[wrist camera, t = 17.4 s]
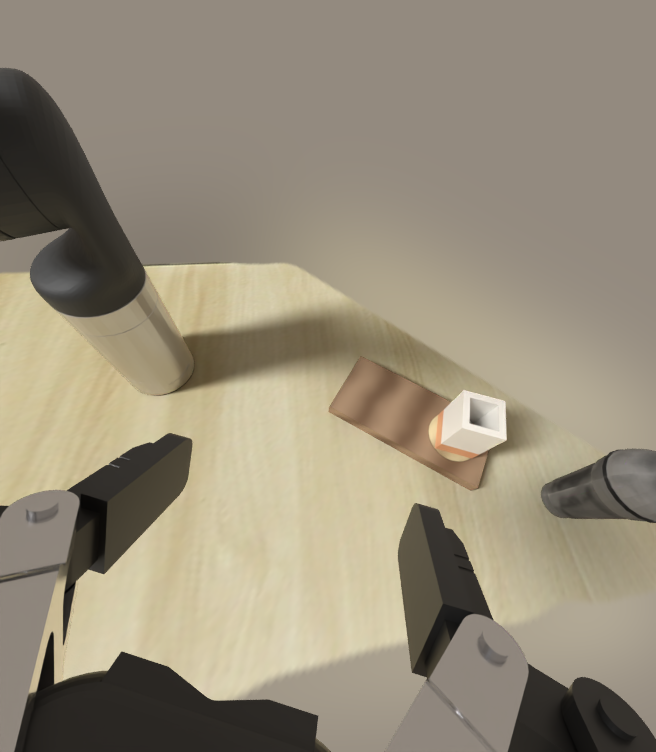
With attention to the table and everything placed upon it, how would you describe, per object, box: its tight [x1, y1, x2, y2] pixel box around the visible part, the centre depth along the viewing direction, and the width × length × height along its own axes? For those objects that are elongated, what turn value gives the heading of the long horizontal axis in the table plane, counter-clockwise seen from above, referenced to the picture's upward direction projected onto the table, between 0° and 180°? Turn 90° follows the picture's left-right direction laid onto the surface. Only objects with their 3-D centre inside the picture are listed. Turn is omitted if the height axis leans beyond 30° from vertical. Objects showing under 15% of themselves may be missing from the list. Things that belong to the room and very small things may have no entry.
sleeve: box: [435, 390, 507, 459], centre depth 39 cm, size 5×5×8 cm
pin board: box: [329, 356, 489, 491], centre depth 43 cm, size 22×10×7 cm, turn 61°
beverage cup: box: [541, 449, 656, 523], centre depth 33 cm, size 7×7×20 cm
